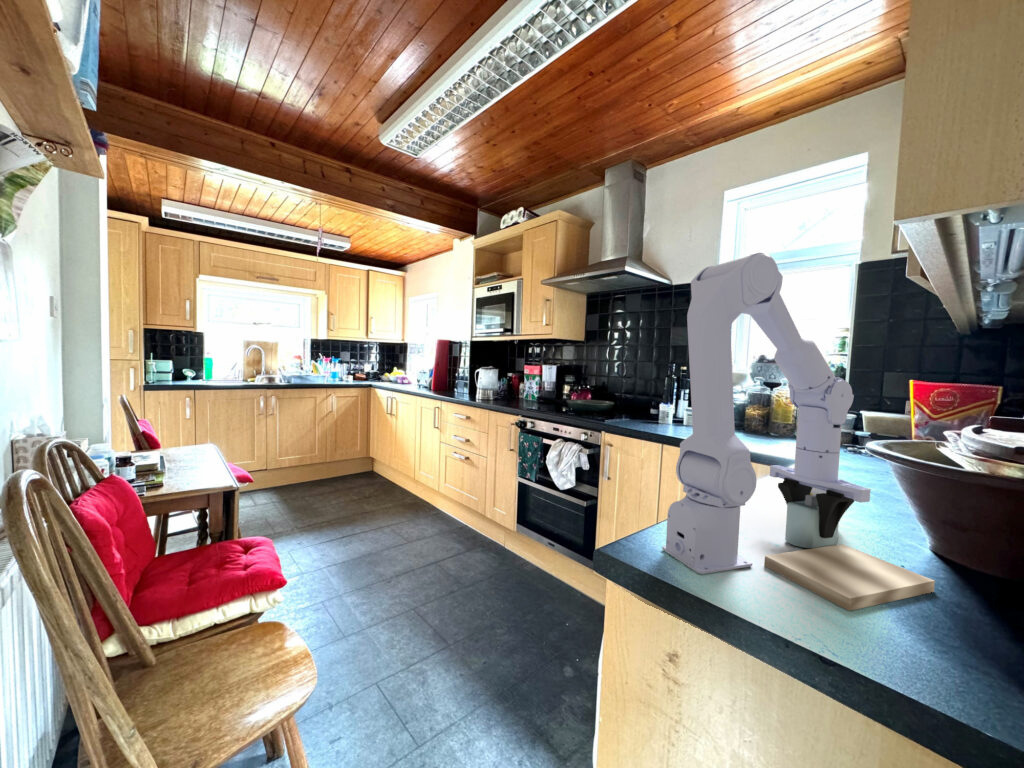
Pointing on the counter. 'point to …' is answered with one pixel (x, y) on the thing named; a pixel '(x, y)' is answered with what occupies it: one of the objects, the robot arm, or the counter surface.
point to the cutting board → (849, 576)
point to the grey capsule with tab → (806, 524)
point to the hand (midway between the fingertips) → (811, 531)
